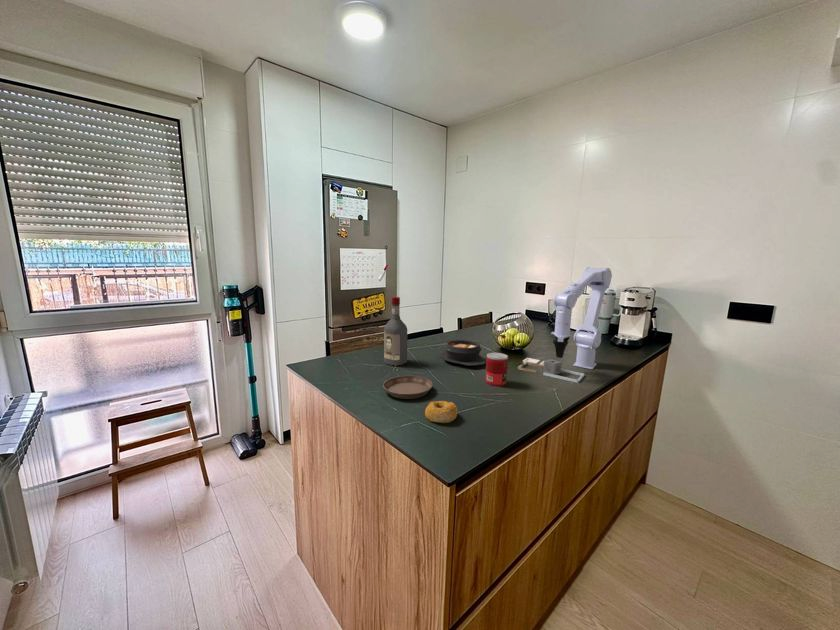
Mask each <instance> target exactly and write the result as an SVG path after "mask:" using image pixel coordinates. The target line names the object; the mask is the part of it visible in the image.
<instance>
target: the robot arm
mask: <svg viewBox="0 0 840 630" xmlns="http://www.w3.org/2000/svg"><path fill="white" fill-rule="evenodd" d="M612 278H613V273H612V271H611V269H610V268H609V267H590V266H589V267H586V268H585V269H584V270H583V272H582V276H581V278H580V279H579V280H578V281H577V282H574V283H573V282H572V283H571V284H570V285H569V286H568V287H567V288H566V289H565V290H564V291H563V292H559V293H557V294H556V295H555V297H554V300H553V304H554V309H555V311H556V312H555V320H554V321H555V323H554V331H552V332H551V333H550V335H554V337H555V339H552V343H553V344H554V349H555V355H556V358H559V359H563V357H564V355H565V353H564V352H565V350H566V348H567V346H568V344H569V340H570V337H571V324H572V314H573V309H574V307H575V306H576V304H577V302H578V298H580V297H581V296H582V295H583V294H584V292H585V289H586V287H588V288H590V289H591V290H592V291H591V295H590V298H589V303H588V307H587V311H586V314H585V318H584V321H583V324H581V325H579V326H577V329H576V330H575V332H574V334H573V341H574V343H575V345H576V347H577V350H576V357H575V362H574V363H573V364H572V366H573V367H574V366H575V367H577V368H578V367H579V368H584V369H589V370H593V369H594V368H595V367H596V365H597V362H595V360H596V359H595V358H596V349H597V348H599V346H601V342H602V331H601V330H600V329H599V328H598V321H599V317H600V313H601V309H602V304H603V301H604V298H605V294H606V290H607V289H609V288H610V286H611V285H610V284H611V282H612Z"/></svg>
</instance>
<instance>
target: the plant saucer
mask: <svg viewBox="0 0 840 630" xmlns="http://www.w3.org/2000/svg"><path fill="white" fill-rule="evenodd" d="M382 387H383V388H384V390H385V391H386V392H387V394H389V395H390V396H391V397H393V398H397V399H402V400H412V399H413V400H414V399H419V398H422V397H424V396H426V395H427V394H428V393H429V392H430V390H431V389H432V388H433V382H432V381H431V380H430V379H428V378H426V377H423V376H417V375H400V376H399V375H398V376H395V377H391V378H389V379H387V380H385V381H384V382H383V385H382Z"/></svg>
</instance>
